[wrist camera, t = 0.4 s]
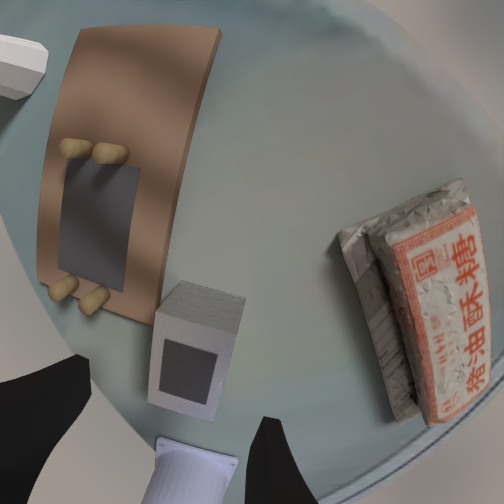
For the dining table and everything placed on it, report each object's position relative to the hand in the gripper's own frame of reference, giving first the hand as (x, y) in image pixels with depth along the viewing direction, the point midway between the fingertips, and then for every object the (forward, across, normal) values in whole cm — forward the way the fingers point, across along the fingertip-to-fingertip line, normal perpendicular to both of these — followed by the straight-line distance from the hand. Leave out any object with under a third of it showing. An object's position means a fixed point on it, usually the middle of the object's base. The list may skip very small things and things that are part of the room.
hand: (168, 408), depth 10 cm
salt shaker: (+10, +21, -15) cm, 27 cm away
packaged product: (+11, -15, -3) cm, 19 cm away
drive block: (+10, 0, +2) cm, 11 cm away
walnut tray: (+10, +9, -8) cm, 16 cm away
